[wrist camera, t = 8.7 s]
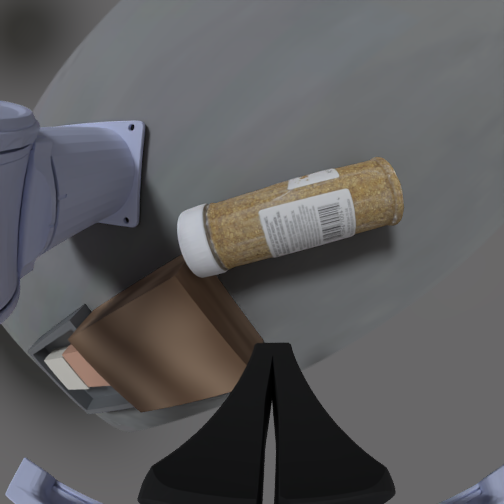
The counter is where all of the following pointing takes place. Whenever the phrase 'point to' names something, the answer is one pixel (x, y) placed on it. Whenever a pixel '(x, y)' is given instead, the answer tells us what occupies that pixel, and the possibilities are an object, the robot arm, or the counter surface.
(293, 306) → the counter surface
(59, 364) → the cream tile
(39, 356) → the box
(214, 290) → the walnut board
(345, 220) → the sprinkles bottle
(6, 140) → the robot arm
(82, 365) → the terracotta tile
